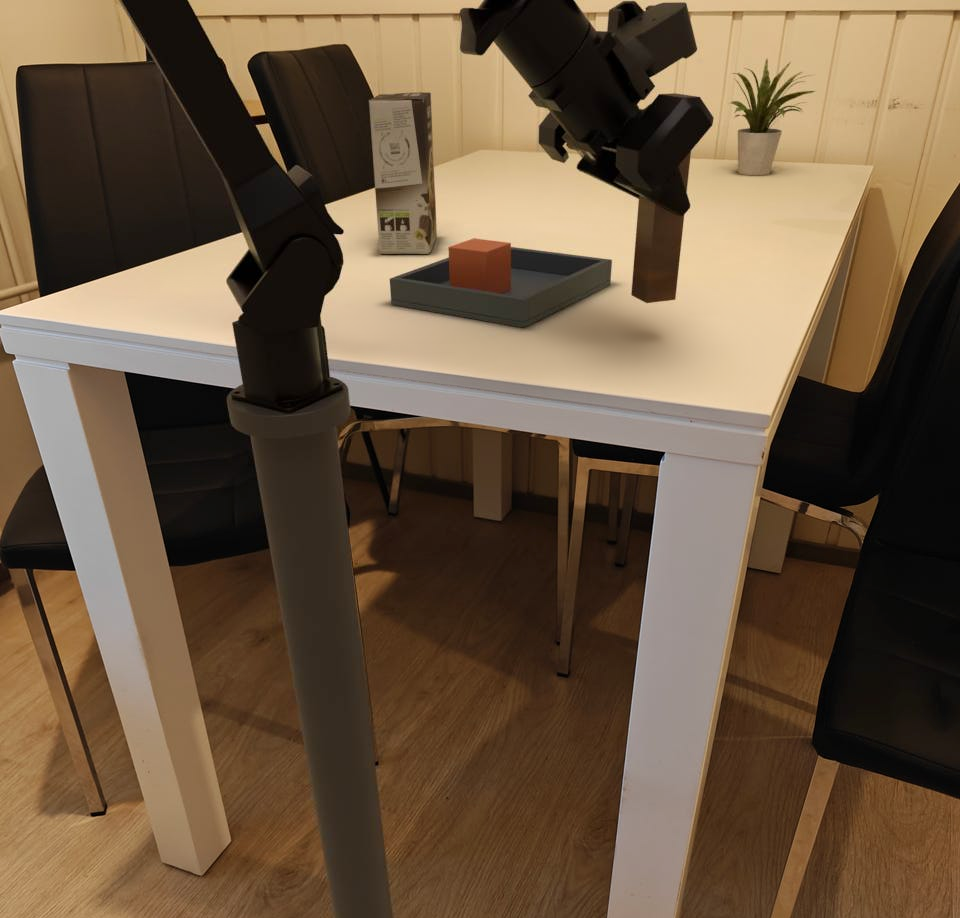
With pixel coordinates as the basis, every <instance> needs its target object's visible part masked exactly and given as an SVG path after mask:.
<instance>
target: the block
mask: <svg viewBox="0 0 960 918" xmlns="http://www.w3.org/2000/svg"><path fill="white" fill-rule="evenodd" d="M511 247H512V243H511V242H507V241H500V240H499V241H498V240H491V239H482V238H475V237H474V238H471V239H468V240H465V241H462V242H459V243H456V244H453V245H450V246H448V258H449V274H450V286H455V287H461V288H467V289H474V290H480V291H487V292H493V293H499V294H502V293H504V292H506V291H509V290H511Z"/></svg>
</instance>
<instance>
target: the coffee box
mask: <svg viewBox="0 0 960 918" xmlns="http://www.w3.org/2000/svg"><path fill="white" fill-rule="evenodd" d="M368 108H369V122H370V134H371V135H370V137H371V151H372V166H373V179H374V193H375V206H376V219H377V233H378V247H379V250H378V251H379V254H381V255H383V254H384V255H385V254H386V255H387V254H390V255H391V254H392V255H393V254H394V255H395V254H398V255H400V254H401V255H402V254H405V255H406V254H408V255H409V254H410V255H411V254H412V255H413V254H414V255H415V254H416V255H428V254H430V253H432V252H431V251H432V249H433V247H434V245H435V243H436V241H437V238H438V233H437V232H438V230H437V228H438V227H437V207H436V206H437V205H436V186H435V185H436V184H435V183H436V182H435V164H434V161H435V160H434V140H433V139H434V138H433V117H432V114H433V113H432V93H431V92H421V91H420V92H400V93H398V92H397V93H392V94H386V93H385V94H384V93H383V94H378V95H376V96H374V97H372V98H371V99H368Z"/></svg>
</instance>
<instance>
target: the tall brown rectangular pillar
mask: <svg viewBox="0 0 960 918" xmlns="http://www.w3.org/2000/svg"><path fill="white" fill-rule="evenodd" d="M691 155H692V150H691V151H690V153H689V154H688V155H687V156H686V157H685V159H684V160H683V161H682V162H681V163H680V165H679V169H680V172H681V175H682V179H683V182H684V185H685V189H686V192H687V193H688V183H689V174H690V164H691ZM637 206H638V207H637V217H636V230H635V243H634V254H633V268H632V281H631V293H630V294H631V297H633V298H636V299H638V300H640V301H642V302H643V303H645V304H652V303H659V302H660V303H661V302H668V301H669V302H670V301H675V300H676V299H677V297H676V296H677V287H678V279H679V269H680V262H681V261H680V259H681V251H682V240H683V231H684V222H685V214H684V215H683V216H682V217H681V216H678V215H676V214H674V213H672V212H670V211H668V210H666V209H664V208H662V207H661V206H659V205H657V204H655V203H653V202H651V201H649V200H647V199H646V198H644V197H642V196H640V195H639V199H638V204H637Z"/></svg>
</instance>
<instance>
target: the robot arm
mask: <svg viewBox="0 0 960 918" xmlns="http://www.w3.org/2000/svg"><path fill="white" fill-rule="evenodd" d="M118 2H119V3H120V6H121V7H122V8H123V10H124V11H125V14H126V15H127V17H128V18H129V21H130V22H131V24H132V25H133V28H134V29H135V32H137V34H138V36H139V37H140V39H141V41H142V42H143V45H144V46H145V48H146V49H147V51H148V53H149V55H150V56H151V58H152V60H153V61H154V63H155V64H156V66H157V68H158V70H159V71H160V73H161V75H162V77H163V79H164V80H165V82H166V84H167V85H168V87H169V88H170V90H171V92H172V94H173V96H174V98H175V99H176V101H177V102H178V104H179V106H180V107H181V109H182V110H183V112H184V114H185V116H186V118H187V119H188V121H189V123H190V125H191V126H192V128H193V130H194V131H195V133H196V134H197V137H198V138H199V140H200V141H201V143H202V145H203V147H204V148H205V150H206V152H207V154H208V156H209V157H210V158H211V160H212V162H213V164H214V165H215V167H216V169H217V170H218V172H219V174H220V176H221V179H222V181H223V184H224V187H225V189H226V193H227V195H228V198H229V200H230V203H231V207H232V210H233V211H234V214H235V217H236V220H237V222H238V225H239V227H240V230H241V232H242V235H243V238H244V241H245V242H246V245H247V248H248V249H247V251H246V252H245V253H244V254H243V256H242V257H241V259H240V260H239V261H238V262H237V264H236V265H235V266H234V268H233V269H232V271H231V272H230V274H229V275H228V276H227V278H226V281H225V282H226V285H227V286H228V288H229V291H230V292H231V294H232V297H234V299H235V302H236V304H237V305H238V306H239V308H240V310H241V312H242V313H241V314H239V316H238V317H237V318H238V319H237V320H235V321H232V322H231V324H232V331H233V335H234V337H233V338H234V342H235V347H236V353H237V359H238V365H239V366H238V367H239V370H240V377H241V382H242V384H243V388H240V389H238V390H235V391H233V392H231V391H230V392H231V398H232V399H233V400H236V401H240V402H244V403H248V404H251V405H255V406H259V407H263V408H267V409H270V410H274V411H278V412H282V413H286V414H290V413H294V412H296V411H298V410H301V409H303V408H305V407H307V406H309V405H311V404H313V403H316V402H318V401H320V400H322V399H324V398H326V397H329V396H331V395H333V394H335V393H337V392H339V391H341V390H343V383H344V382H343V383H341V382H337V381H333V380H328V378H329V377H331V373H330V365H329V355H328V346H327V340H326V339H327V338H326V330H325V327H324V326H323V325H322V318H321V317H322V316H321V315H322V311H323V305H324V303H325V297H326V296H327V295H328V294H329V293H331V292H332V291H333V290H334V288H335V287H336V285H337V284H338V282H339V280H340V277H341V273H342V269H343V266H344V262H345V261H344V253H343V251H342V247H341V244H340V241H339V240H338V238H337V237H336V235H340V236H341V235H344V234H345V233H344V232H345V230H344V229H343V228H342V227H341V226H340V225H339V224H337V222H335V220H334V219H333V218H332V216H331V214H330V213H329V212H328V209H327V207H326V204H325V201H324V198H323V195H322V192H321V190H320V186H319V184H318V182H317V180H316V177H315V176H314V175H312V174H311V173H310V172H308V171H306V170H305V169H304V168H302V167H301V166H300V165H298V164H296V165H294V166H293V167H292V168H291V169H289V171H288V172H286V170H285V169H283V167H282V165H281V164H280V163H279V162H278V161H277V159H276V158H275V157H274V156H273V154H272V153H271V151H270V149H269V147H268V145H267V143H266V142H265V139H264V138H263V136H262V134H261V132H260V130H259V129H258V126H257V125H256V123H255V121H254V120H253V118H252V116H251V114H250V112H249V110H248V108H247V106H246V104H245V103H244V101H243V99H242V97H241V96H240V93H239V92H238V90H237V88H236V87H235V84H234V82H233V81H232V79H231V76H230V75H229V73H228V72H227V69H226V68H225V66H224V64H223V62H222V60H221V58H220V56H219V55H218V53H217V51H216V49H215V47H214V46H213V44H212V42H211V40H210V38H209V36H208V35H207V33H206V31H205V29H204V28H203V25H202V24H201V22H200V20H199V18H198V16H197V14H196V13H195V11H194V9H193V7H192V5H191V2H189V0H118ZM459 16H460V23H461V32H460V43H459V50H460V52H461V53H462V54H465V55H472V56H480V57H481V56H484V55H485V53H486V52H487V51H488V49H489V48H490V47H491V46H492V44H493V43H494V45H496V47H497V48H498V49H499V50H500V52H501V53H502V54H503V55H504V57H505V58H506V60H507V61H508V62H509V63H510V64H511V66H512V67H513V68H514V69H515V70H516V71H517V73H518V74H519V75H520V77H521V78H522V80H524V81H525V83H526V84H527V86H529V88H530V89H531V91H530V93H529V94H528V98H529V99H530V100H531V101H532V102H533V104H534V105H535V106H536V107H538V108H541V109H542V108H543V109H547V111H548V114H547V115H545V117H544V118H543V120H542V121H541V123H540V124H539V125H538V145H539V146H540V147H541V148H542V149H543V150H544V152H545V153H546V154H547V156H549V158H550V159H551V160H554V161H557V162H558V163H559V162H560V163H561V164H565V163H566V162H568V159H569V158H570V156H569V152H568V151H567V149H569V150H573V151H576V152H577V154H578V155H579V156H580V157H581V159H580V160H579V161H578V163H577V164H576V170H578V172H581V173H583V174H585V175H587V176H590V177H592V178H594V179H595V180H598V181H600V182H602V183H604V184H607V185H608V186H611V187H613V188H615V189H617V190H618V191H621V192H622V193H626V194H627V195H629V196H632V197H633V198H636V199H638V200H639V195H640V196H642V197H644V198H646V199H647V200H649V201H651V202H653V203H655V204H657V205H659V206H661V207H662V208H664V209H666V210H668V211H670V212H672V213H674V214H676V215H678V216H681V217H682V216H683V215H684V216H685V214H687V212H688V211H689V210H690V208H691V202H690V199H689V195H688V191H687V192H686V189H685V185H684V182H683V179H682V175H681V172H680V169H679V165H680V163H681V162H682V161H683V160H684V159H685V157H686V156H687V155H688V154H689V153H690V151H691V152H692V150H693V149H694V148H695V147H696V145H697V144H698V143H699V142H700V141H701V139H702V138H703V137H704V136H705V135H706V134H707V132H708V131H710V129H711V127H713V124H714V118H715V117H714V116H713V114H712V113H711V111H710V110H709V109H708V107H707V105H706V104H705V103H704V101H703V99H702V97H700V96H698V95H697V96H696V95H690V94H683V93H674V92H673V93H659V94H657V96H656V97H655V98H654V100H653V101H652V102H651V103H649V104H648V105H647V106H646V107H645V108H640V106H639V105H638V104H639V103H640V102H641V101H645V99H647V97H648V96H649V95H650V94H651V93H652V91H653V90H654V89H655V87H656V85H655V84H654V82H653V80H652V79H651V78H652V77H655V76H656V75H657V74H659V73H661V72H663V71H665V70H666V69H667V68H669V67H670V66H672V65H674V64H675V63H677V62H678V61H680V60H682V59H689V58H690V57H692V56H693V55H694V54H695V53H697V51H698V46H697V42H696V37H695V33H694V30H693V25H692V21H691V16H690V13H689V8H688V3H686V2H660V3H657V4H654V5H652V4H651V5H647V6H646V7H645V10H644V8H642V7H641V6H640V4H639V3H638V2H637V1H635V0H622V1H621V2H620V3H618V4H616V5H614V6H613V7H611V8H610V9H609V10H608V17H607V29H606V31H605V30H596V29H595V27H594V26H593V24H592V23H591V21H590V20H589V19H588V18H587V16H586V14H585V13H584V12H583V10H582V9H581V8H580V7H579V5H578V3H577V2H576V1H575V0H482V2H481V3H480V5H479V6H478V7H476V8H475V7H462V8H461V9H460V10H459ZM565 144H566V147H567V149H566V148H565V147H564V145H565Z"/></svg>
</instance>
